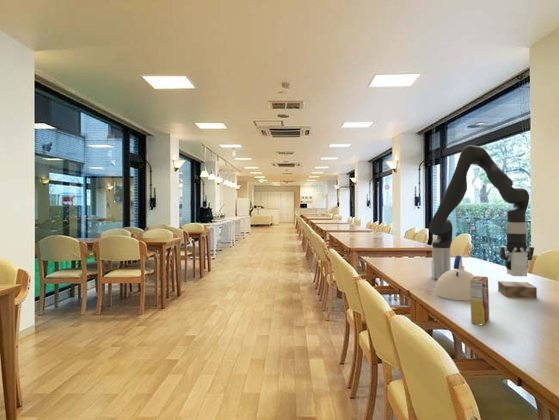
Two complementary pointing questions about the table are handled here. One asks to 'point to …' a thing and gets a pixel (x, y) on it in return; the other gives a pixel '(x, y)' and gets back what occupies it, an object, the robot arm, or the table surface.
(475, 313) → the candy box
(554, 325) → the table surface
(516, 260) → the small box
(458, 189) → the robot arm
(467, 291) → the kettle
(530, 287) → the walnut block
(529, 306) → the table surface
